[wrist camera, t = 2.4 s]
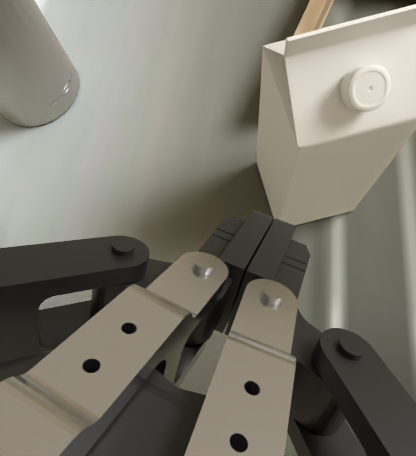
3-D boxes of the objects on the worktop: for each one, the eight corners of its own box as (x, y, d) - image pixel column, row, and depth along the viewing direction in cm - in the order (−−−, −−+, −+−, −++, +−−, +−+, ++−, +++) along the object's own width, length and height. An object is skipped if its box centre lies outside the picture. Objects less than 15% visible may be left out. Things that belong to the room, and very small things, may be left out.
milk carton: (255, 162, 37) (265, -16, 19) (328, 143, 37) (406, -53, 19) (276, 230, 35) (310, 102, 17) (353, 211, 35) (470, 61, 17)
